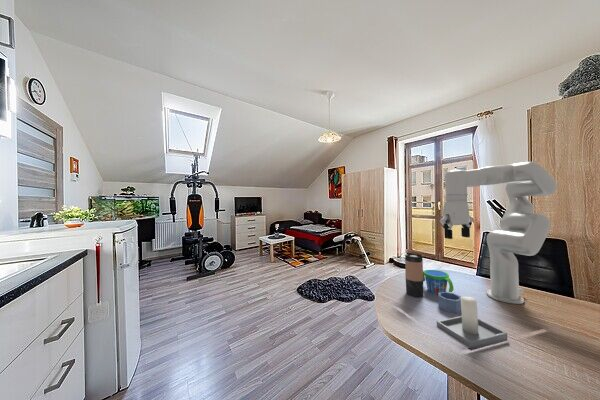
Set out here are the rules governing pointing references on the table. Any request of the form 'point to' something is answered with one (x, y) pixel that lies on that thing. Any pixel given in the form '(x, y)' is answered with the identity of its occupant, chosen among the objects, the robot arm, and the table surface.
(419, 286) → the travel mug
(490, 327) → the tray
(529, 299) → the table surface
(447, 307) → the cup
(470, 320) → the peg
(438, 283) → the snack cup
